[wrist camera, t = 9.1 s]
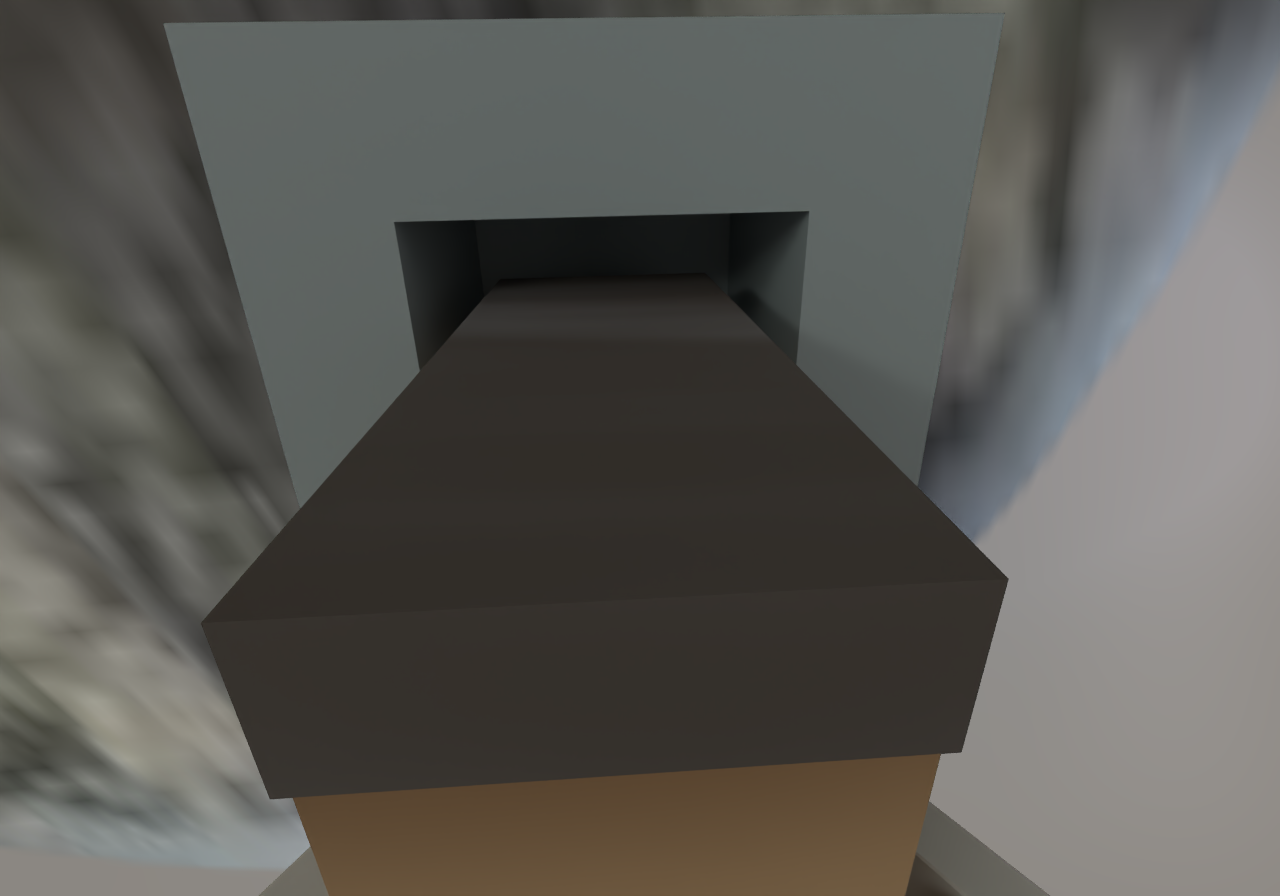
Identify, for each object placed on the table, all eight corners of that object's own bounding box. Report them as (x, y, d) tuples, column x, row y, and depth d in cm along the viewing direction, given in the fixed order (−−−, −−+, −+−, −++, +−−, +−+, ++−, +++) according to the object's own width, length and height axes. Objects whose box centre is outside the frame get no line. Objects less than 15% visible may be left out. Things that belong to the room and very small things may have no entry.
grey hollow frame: (507, 625, 25) (434, 985, 14) (437, 112, 17) (163, 23, 6) (731, 612, 25) (831, 953, 14) (756, 107, 18) (1004, 13, 7)
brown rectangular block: (693, 792, 15) (785, 1398, 8) (558, 801, 15) (517, 1430, 7) (705, 272, 10) (1010, 578, 3) (500, 279, 10) (200, 622, 2)
